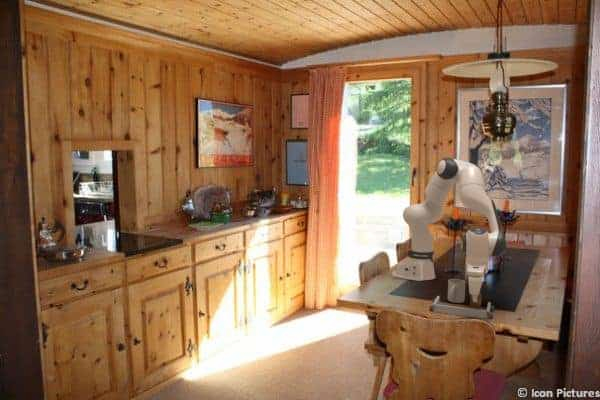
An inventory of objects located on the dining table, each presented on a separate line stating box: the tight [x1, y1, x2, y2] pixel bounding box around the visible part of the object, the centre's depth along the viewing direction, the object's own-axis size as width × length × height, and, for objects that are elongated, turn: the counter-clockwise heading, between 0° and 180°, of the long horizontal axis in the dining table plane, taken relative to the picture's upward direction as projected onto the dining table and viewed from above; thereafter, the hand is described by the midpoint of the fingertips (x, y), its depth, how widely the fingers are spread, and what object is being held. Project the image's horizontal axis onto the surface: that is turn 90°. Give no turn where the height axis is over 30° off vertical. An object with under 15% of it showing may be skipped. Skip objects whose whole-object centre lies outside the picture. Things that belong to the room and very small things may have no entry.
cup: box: [447, 278, 466, 304], centre depth 221 cm, size 7×10×9 cm
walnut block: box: [469, 291, 482, 308], centre depth 208 cm, size 4×4×5 cm
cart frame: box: [428, 295, 495, 320], centre depth 210 cm, size 25×13×3 cm, turn 66°
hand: (475, 299), depth 208 cm, fingers closed on walnut block, 4 cm apart
